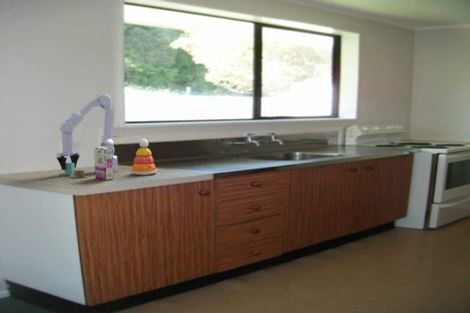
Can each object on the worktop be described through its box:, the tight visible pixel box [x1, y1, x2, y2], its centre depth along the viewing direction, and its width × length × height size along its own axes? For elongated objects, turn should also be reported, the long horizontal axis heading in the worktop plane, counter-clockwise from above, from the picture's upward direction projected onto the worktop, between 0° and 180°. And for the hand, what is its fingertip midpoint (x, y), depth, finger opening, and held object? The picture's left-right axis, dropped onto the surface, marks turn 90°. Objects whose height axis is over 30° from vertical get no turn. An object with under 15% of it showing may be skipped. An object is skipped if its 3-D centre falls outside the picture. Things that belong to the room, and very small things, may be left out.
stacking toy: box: [130, 138, 158, 176], centre depth 268 cm, size 14×14×20 cm
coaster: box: [60, 172, 70, 177], centre depth 268 cm, size 9×9×1 cm
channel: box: [74, 169, 85, 179], centre depth 260 cm, size 5×7×3 cm
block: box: [64, 162, 76, 175], centre depth 267 cm, size 4×4×6 cm
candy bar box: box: [93, 146, 115, 181], centre depth 252 cm, size 11×5×16 cm, turn 45°
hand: (68, 169), depth 268 cm, fingers open, 7 cm apart
